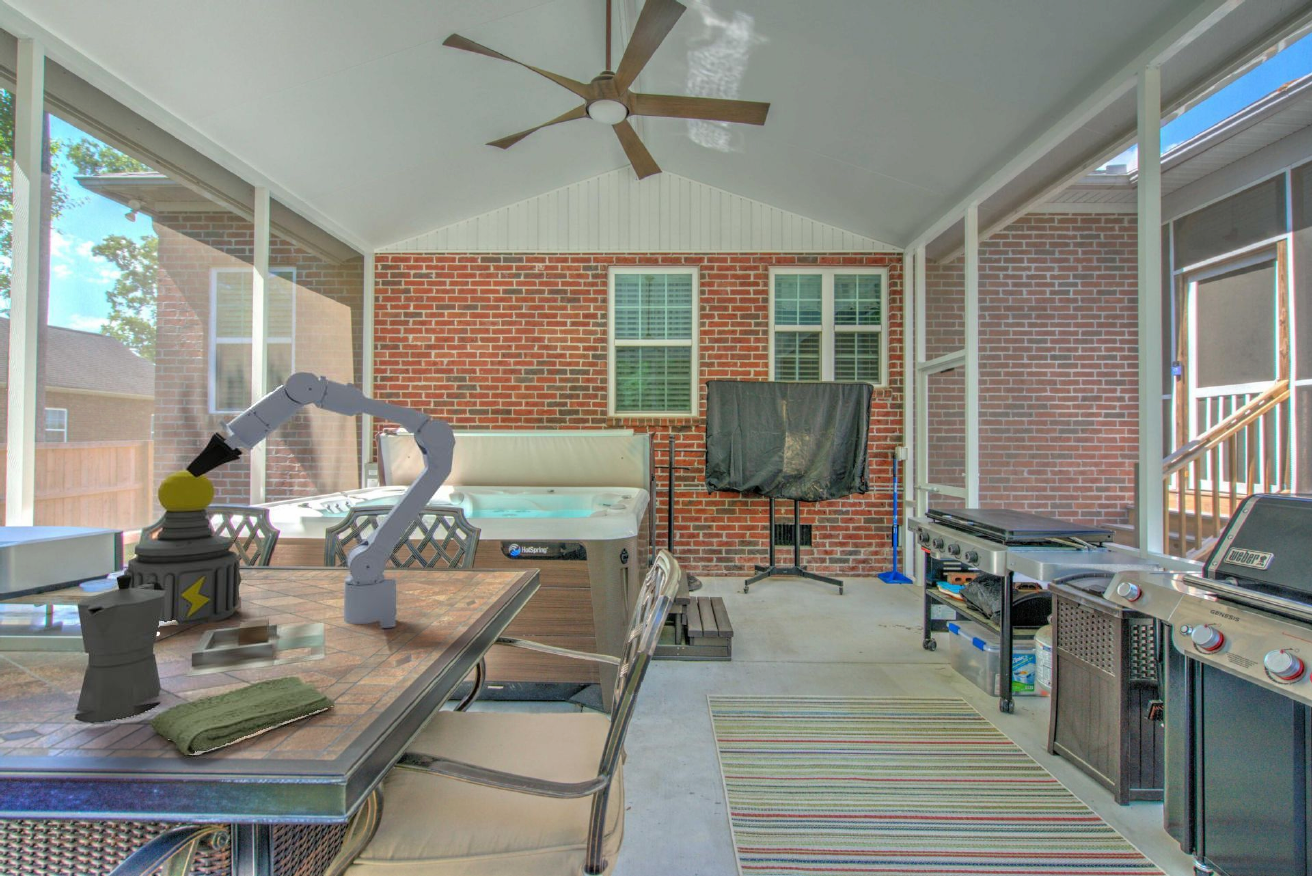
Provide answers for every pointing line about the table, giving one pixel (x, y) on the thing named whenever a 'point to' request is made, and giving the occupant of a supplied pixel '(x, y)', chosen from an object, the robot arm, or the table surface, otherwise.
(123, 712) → the coffeepot
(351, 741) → the table surface
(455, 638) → the table surface
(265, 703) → the washcloth
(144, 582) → the decorative lamp
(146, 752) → the table surface
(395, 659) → the table surface
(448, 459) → the robot arm
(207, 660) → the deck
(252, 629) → the walnut block
